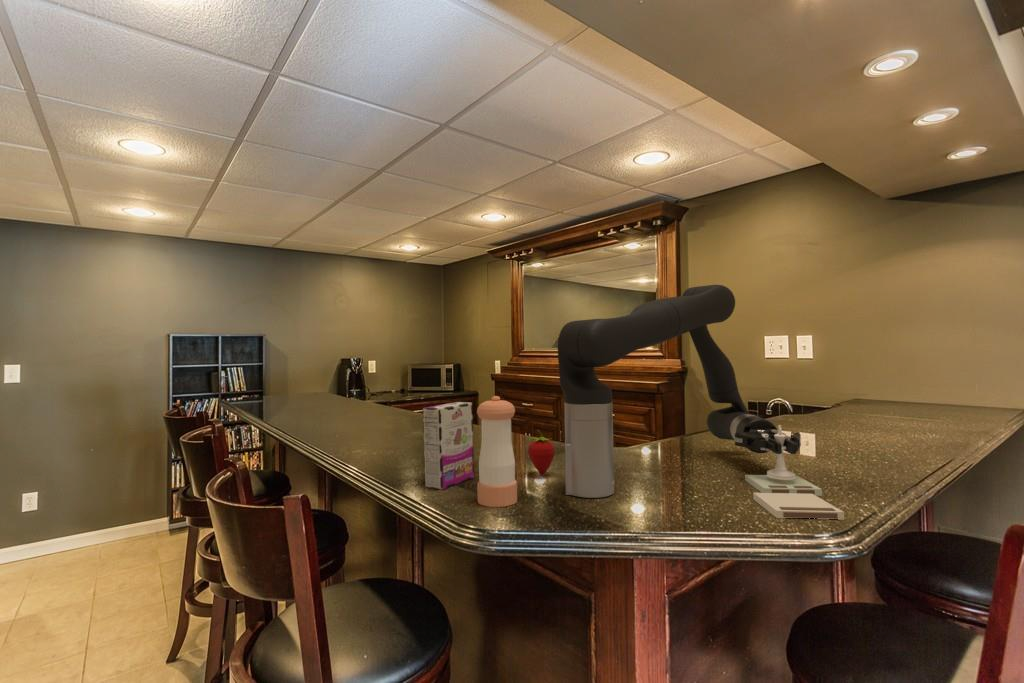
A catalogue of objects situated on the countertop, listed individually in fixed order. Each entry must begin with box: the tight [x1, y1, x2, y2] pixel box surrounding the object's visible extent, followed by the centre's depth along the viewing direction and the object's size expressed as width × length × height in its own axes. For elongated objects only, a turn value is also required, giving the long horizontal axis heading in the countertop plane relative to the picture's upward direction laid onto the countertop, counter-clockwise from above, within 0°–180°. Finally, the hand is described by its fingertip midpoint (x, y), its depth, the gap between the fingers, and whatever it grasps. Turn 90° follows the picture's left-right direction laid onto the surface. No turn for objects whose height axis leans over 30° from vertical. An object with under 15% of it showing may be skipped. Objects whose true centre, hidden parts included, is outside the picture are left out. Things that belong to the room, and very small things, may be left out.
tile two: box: [744, 474, 823, 497], centre depth 94 cm, size 10×10×1 cm
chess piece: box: [766, 424, 796, 480], centre depth 95 cm, size 5×5×10 cm
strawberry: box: [527, 429, 556, 476], centre depth 107 cm, size 6×8×10 cm
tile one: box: [752, 492, 845, 521], centre depth 82 cm, size 10×10×1 cm
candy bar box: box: [422, 401, 475, 490], centre depth 103 cm, size 11×5×16 cm, turn 148°
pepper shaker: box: [476, 395, 518, 508], centre depth 89 cm, size 7×7×19 cm
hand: (786, 448), depth 92 cm, fingers closed on chess piece
